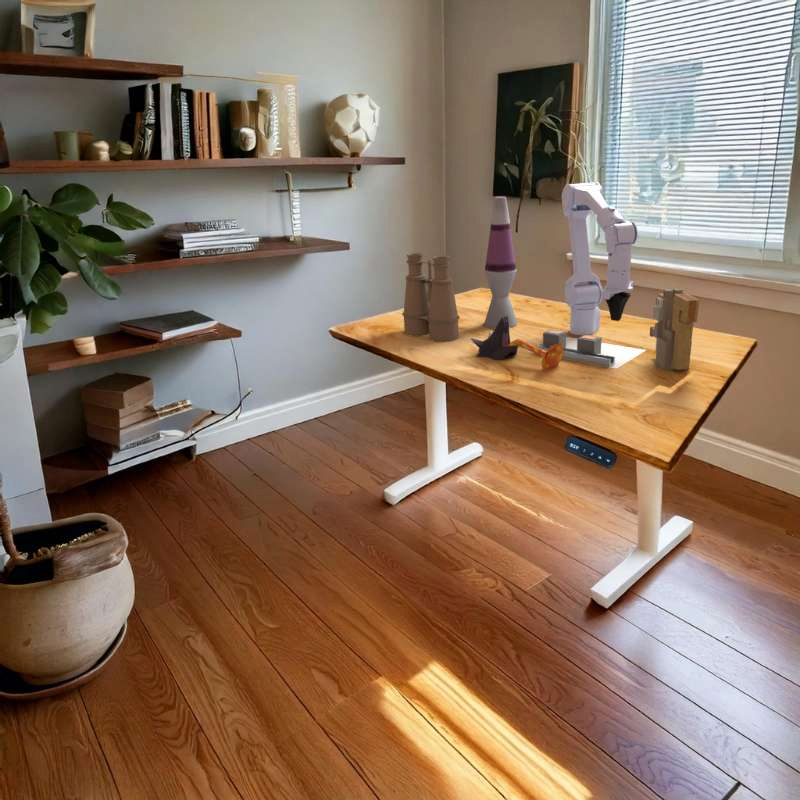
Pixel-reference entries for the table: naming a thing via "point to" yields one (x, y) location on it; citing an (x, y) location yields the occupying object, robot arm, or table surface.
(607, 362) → the rail
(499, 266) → the lamp
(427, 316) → the binoculars
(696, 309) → the toy
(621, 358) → the panel
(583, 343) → the block
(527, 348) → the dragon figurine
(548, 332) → the mounted module
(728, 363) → the table surface
